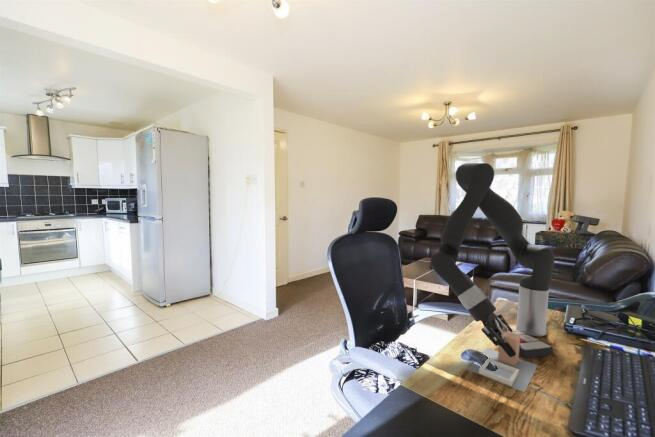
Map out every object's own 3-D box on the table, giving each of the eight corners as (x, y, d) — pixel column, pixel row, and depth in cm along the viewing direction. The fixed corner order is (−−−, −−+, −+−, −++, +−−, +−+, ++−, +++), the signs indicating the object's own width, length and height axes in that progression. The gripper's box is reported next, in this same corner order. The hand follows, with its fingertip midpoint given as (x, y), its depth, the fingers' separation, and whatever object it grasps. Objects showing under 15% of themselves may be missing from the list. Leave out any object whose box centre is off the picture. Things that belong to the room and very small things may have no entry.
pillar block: (502, 354, 95) (503, 330, 94) (518, 360, 92) (520, 334, 91) (497, 359, 92) (499, 334, 91) (514, 365, 88) (516, 339, 88)
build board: (486, 351, 99) (487, 344, 99) (537, 368, 89) (538, 361, 89) (467, 373, 86) (467, 365, 86) (523, 396, 76) (524, 387, 76)
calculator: (514, 327, 110) (553, 345, 95) (514, 339, 110) (553, 358, 96) (488, 329, 108) (524, 348, 93) (488, 341, 108) (524, 362, 93)
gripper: (477, 302, 90) (521, 355, 83) (492, 292, 101) (532, 339, 93) (459, 314, 94) (498, 366, 87) (474, 303, 105) (511, 349, 97)
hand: (515, 351), depth 90 cm, fingers open, 5 cm apart
